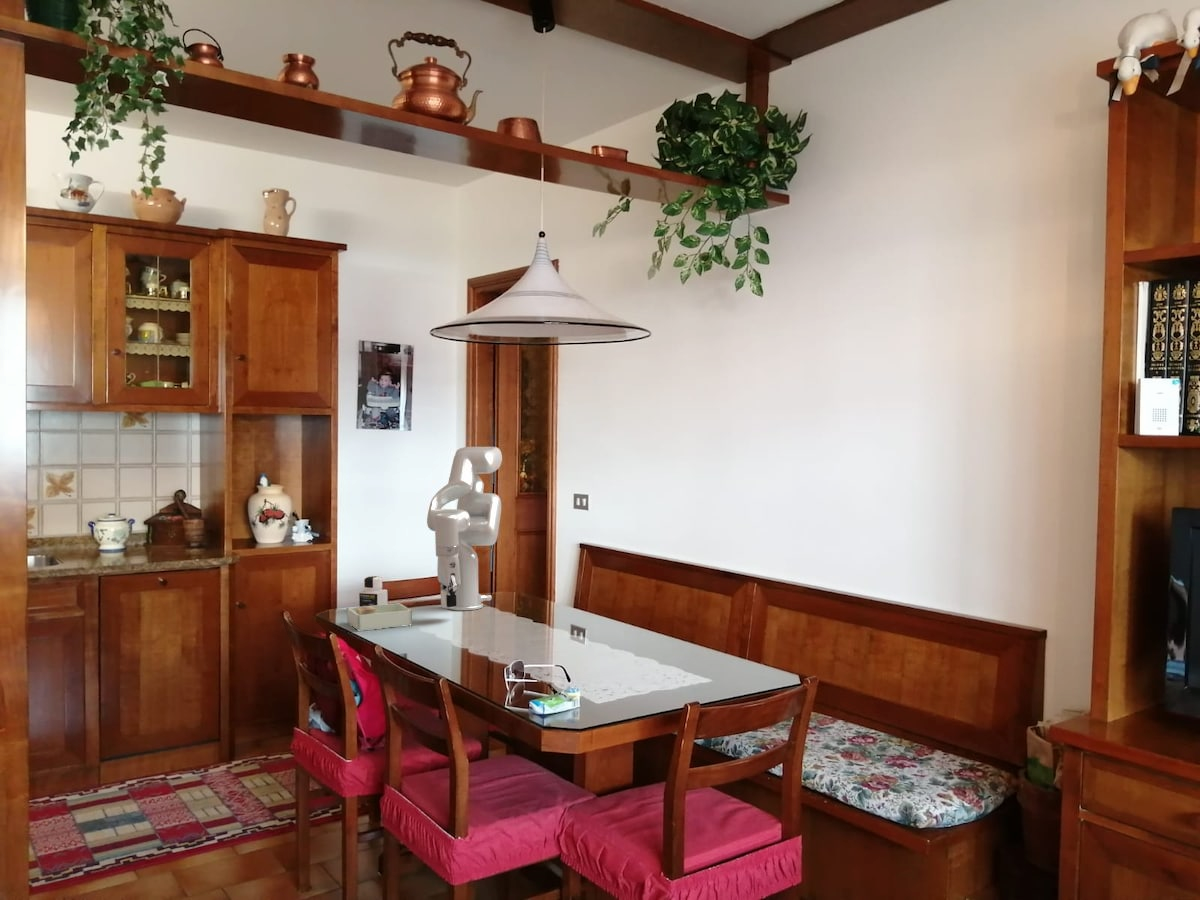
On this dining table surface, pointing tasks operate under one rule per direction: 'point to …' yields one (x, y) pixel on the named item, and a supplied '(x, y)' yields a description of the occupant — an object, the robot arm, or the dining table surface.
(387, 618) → the tote
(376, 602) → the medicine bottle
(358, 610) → the beech cube
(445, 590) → the white short cylinder
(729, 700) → the dining table surface
